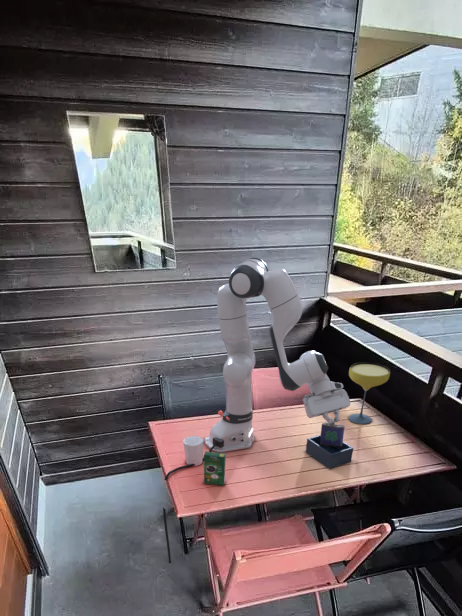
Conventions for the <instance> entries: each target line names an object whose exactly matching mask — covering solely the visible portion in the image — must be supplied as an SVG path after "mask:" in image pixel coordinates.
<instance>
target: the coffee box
mask: <svg viewBox="0 0 462 616" xmlns="http://www.w3.org/2000/svg"><path fill="white" fill-rule="evenodd" d="M203 458H204V461H203V483H204V484H205V485H213V486H214V485H215V486H225V482H226V452H221V453H219V452H215V451H212V452H209V451H205V452H204V453H203Z"/></svg>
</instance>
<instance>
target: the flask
mask: <svg viewBox="0 0 462 616" xmlns="http://www.w3.org/2000/svg"><path fill="white" fill-rule="evenodd" d="M333 421H334V420H333ZM336 423H337V422H336V421H334V422H333V423H332V424H328V422H327V421H326V422H322V423H321V429H320V435H321V437H320V444H321V445H326V446H334V447H341V446H342V445H343V442H344V435H345V428H346V427H345V425H344V424H336Z"/></svg>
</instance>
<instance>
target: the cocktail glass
mask: <svg viewBox="0 0 462 616" xmlns="http://www.w3.org/2000/svg"><path fill="white" fill-rule="evenodd" d="M348 376H349V378H350V379H351V381H352V382H354V383H355V384H357V385H359V386H361V387H362V389H363V390H364V394H363V399H362V404H361V409H360V412H359V413H353V414H350V415H349V416H348V420H349V421H350V422H351V423H354V424H358V425H367V424H370V423H371V422H372V418H371V417H370V415H369V416H368V415H367V414H363V413H364V411H363V410H364V405H365V399H366V396H367V395H366V394H367V391H369V390H370V389H371V388H375V387H378V386H381V385H383V384H385V383H387V382H388V381H389V379H390V377H391V370H390V369H389V367H387V366H385V365H383V364H380V363H375V362H356V363H352V365H350V367H349V370H348Z"/></svg>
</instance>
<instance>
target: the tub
mask: <svg viewBox="0 0 462 616" xmlns="http://www.w3.org/2000/svg"><path fill="white" fill-rule="evenodd" d="M320 437H321V434H318V435H314V436H312V437H311V436H310V437H307V438H306V447H305V453H306V454H308V455H309V456H310V457H312V458H313V459H315V460H316V461H317V462H320V463H321V464H322V465H323V466H325V467H326V468H327V469H329V470H331V469H333V468H336V467H340V466H341V465H345V464H348V463H351V462H352V458H353V454H354V447H353V446H352V445H350V444H348V443H347V442H346V441H343V445H342V446H341V447H334V446H326V445H321V444H320Z"/></svg>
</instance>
